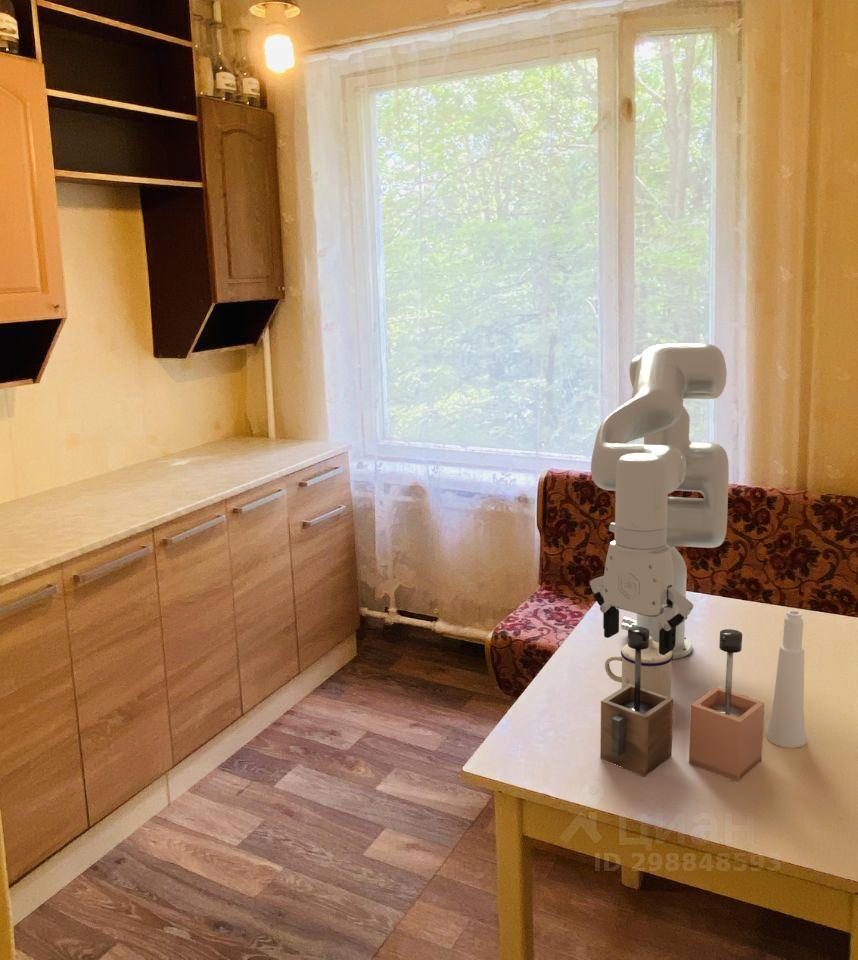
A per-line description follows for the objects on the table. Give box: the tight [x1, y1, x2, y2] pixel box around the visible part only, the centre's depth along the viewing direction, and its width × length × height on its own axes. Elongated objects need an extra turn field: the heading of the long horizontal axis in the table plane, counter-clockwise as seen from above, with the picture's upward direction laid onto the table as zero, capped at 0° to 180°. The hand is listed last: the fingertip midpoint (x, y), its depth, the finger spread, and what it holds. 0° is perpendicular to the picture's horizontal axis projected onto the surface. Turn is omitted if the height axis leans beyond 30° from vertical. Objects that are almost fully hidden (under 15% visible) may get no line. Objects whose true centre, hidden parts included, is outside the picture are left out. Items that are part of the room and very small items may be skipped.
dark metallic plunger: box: [621, 627, 654, 714], centre depth 136 cm, size 6×6×14 cm
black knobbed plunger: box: [709, 628, 745, 718], centre depth 134 cm, size 6×6×14 cm
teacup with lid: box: [604, 636, 674, 698], centre depth 158 cm, size 12×9×12 cm
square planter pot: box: [688, 686, 766, 783], centre depth 137 cm, size 8×10×10 cm
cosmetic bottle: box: [765, 609, 807, 749], centre depth 141 cm, size 6×6×22 cm
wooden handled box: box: [599, 684, 674, 778], centre depth 138 cm, size 8×10×10 cm
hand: (638, 643), depth 135 cm, fingers open, 9 cm apart
